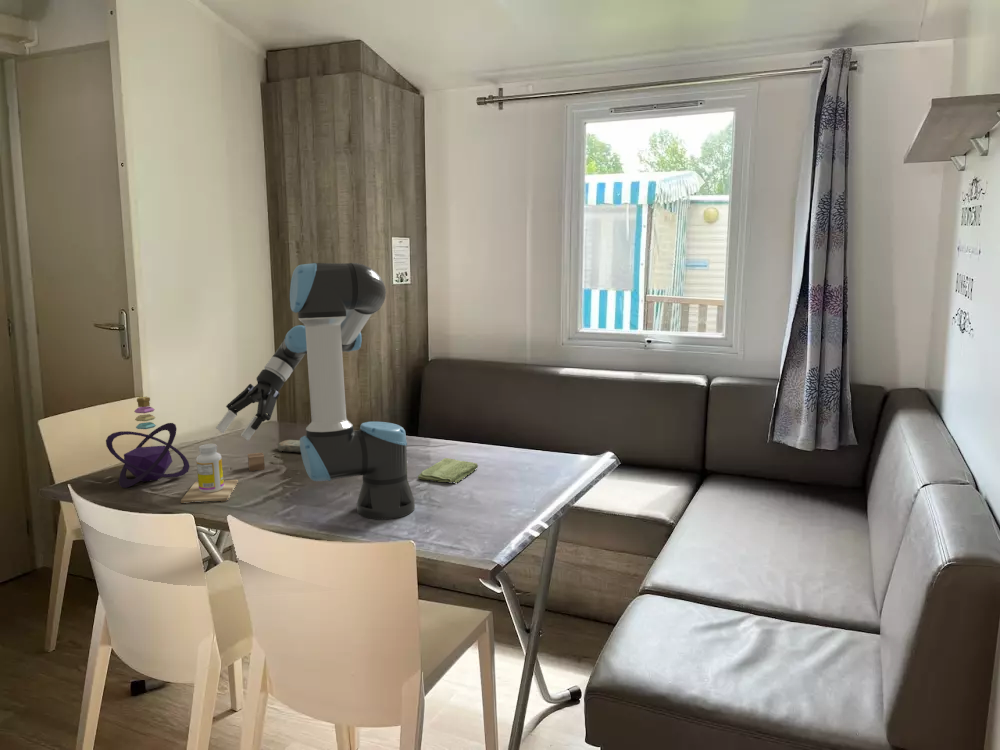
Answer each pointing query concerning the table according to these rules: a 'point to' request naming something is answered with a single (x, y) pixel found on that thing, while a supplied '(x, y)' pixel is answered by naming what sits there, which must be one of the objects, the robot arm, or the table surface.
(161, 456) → the decorative bottle
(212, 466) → the supplement bottle
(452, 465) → the washcloth
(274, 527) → the table surface
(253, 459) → the walnut block
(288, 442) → the long grey stone
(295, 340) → the robot arm
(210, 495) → the pad
